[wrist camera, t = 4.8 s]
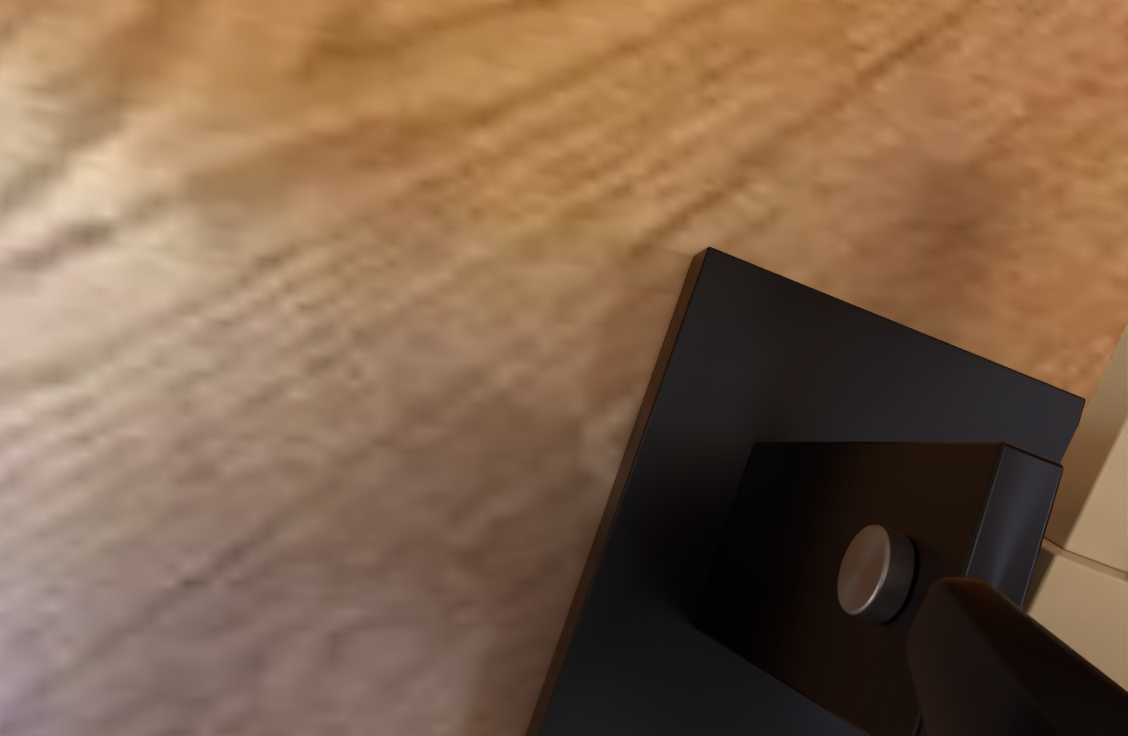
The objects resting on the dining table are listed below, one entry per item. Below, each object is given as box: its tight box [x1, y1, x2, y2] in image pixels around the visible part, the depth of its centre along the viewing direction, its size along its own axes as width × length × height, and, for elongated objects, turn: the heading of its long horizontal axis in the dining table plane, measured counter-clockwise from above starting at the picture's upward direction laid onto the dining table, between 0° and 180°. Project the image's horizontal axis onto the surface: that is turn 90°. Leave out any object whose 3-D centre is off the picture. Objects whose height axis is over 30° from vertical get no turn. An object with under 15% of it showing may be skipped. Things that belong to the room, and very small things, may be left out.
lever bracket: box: [525, 247, 1085, 736], centre depth 19 cm, size 12×10×11 cm
